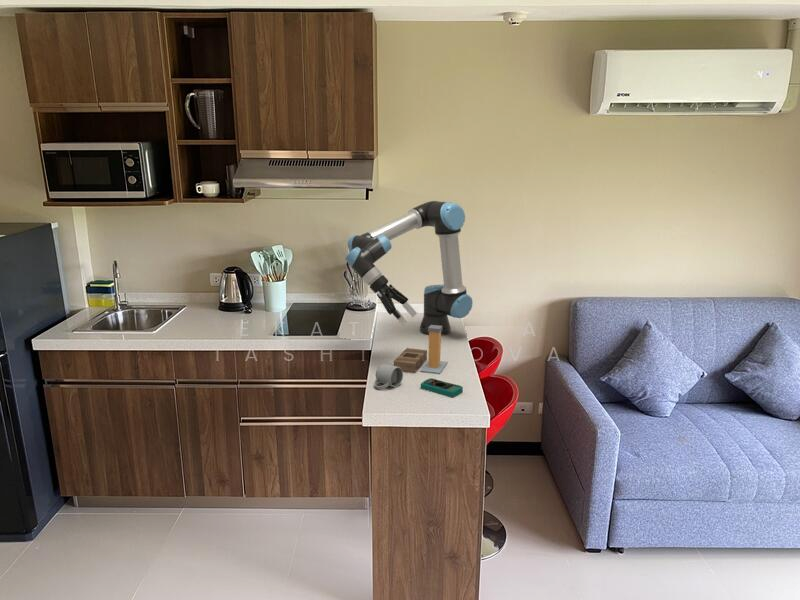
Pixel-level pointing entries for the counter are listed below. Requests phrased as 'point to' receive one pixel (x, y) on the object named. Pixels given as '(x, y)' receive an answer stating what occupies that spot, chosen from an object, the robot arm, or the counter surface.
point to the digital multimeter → (441, 387)
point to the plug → (434, 346)
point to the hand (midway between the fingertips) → (410, 319)
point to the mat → (434, 370)
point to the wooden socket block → (411, 359)
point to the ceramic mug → (388, 376)
